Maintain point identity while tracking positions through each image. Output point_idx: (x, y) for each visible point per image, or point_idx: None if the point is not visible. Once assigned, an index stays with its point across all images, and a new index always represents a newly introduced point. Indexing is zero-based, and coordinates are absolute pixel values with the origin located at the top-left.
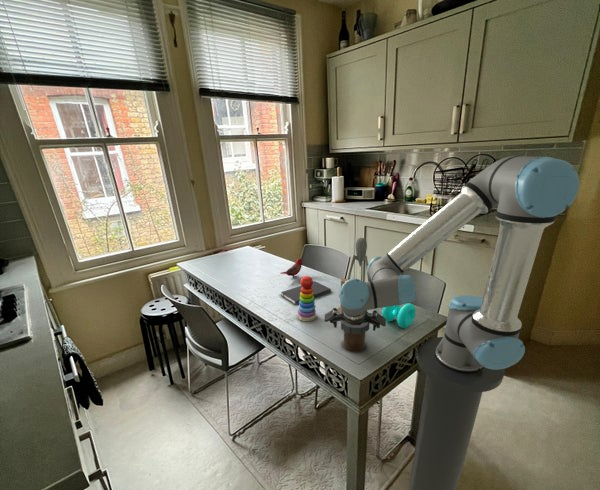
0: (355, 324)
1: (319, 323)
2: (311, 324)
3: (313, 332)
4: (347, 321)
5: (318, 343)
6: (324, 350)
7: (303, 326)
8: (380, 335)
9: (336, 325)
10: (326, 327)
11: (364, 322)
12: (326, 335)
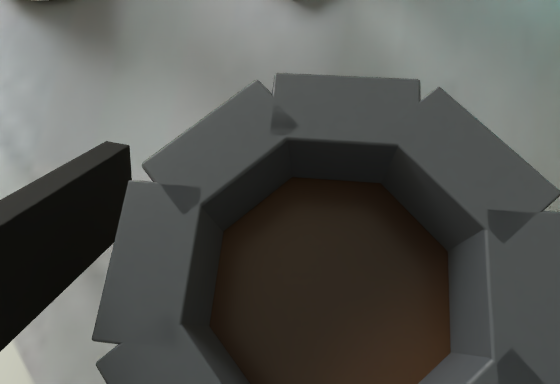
0: (344, 237)
1: (120, 22)
2: (65, 32)
3: (54, 122)
4: (236, 207)
5: None
6: (76, 359)
7: (7, 53)
8: (552, 180)
9: (120, 215)
10: (157, 68)
11: (498, 365)
12: (136, 162)
